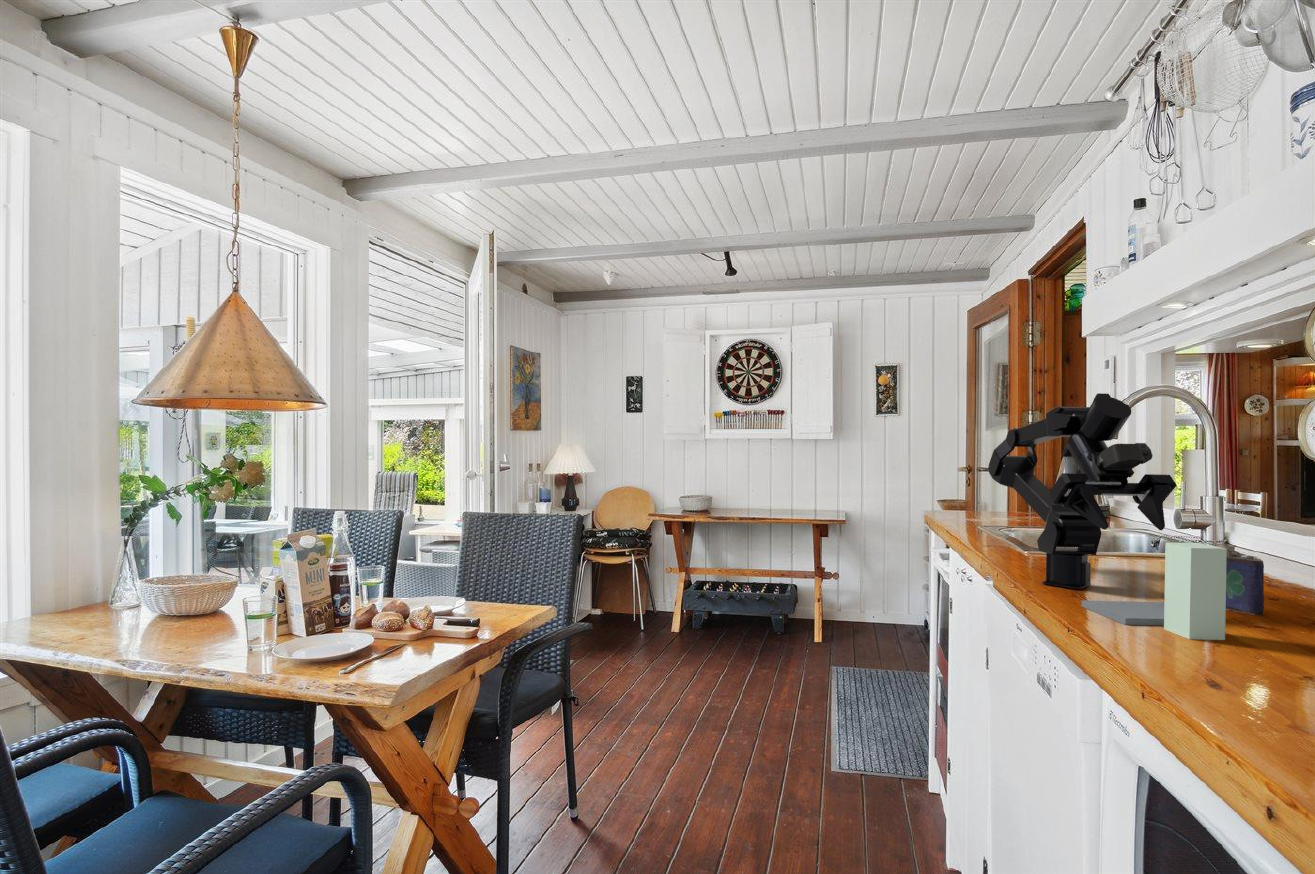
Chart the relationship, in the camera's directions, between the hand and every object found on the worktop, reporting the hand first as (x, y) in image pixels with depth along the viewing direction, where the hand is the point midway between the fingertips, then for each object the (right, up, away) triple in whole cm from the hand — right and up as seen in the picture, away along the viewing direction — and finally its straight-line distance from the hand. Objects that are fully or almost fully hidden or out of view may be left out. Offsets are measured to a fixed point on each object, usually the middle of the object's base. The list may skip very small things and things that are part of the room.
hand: (1134, 528), depth 113 cm
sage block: (0, -14, -13) cm, 19 cm away
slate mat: (0, -14, -3) cm, 14 cm away
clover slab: (+18, -14, +2) cm, 23 cm away
